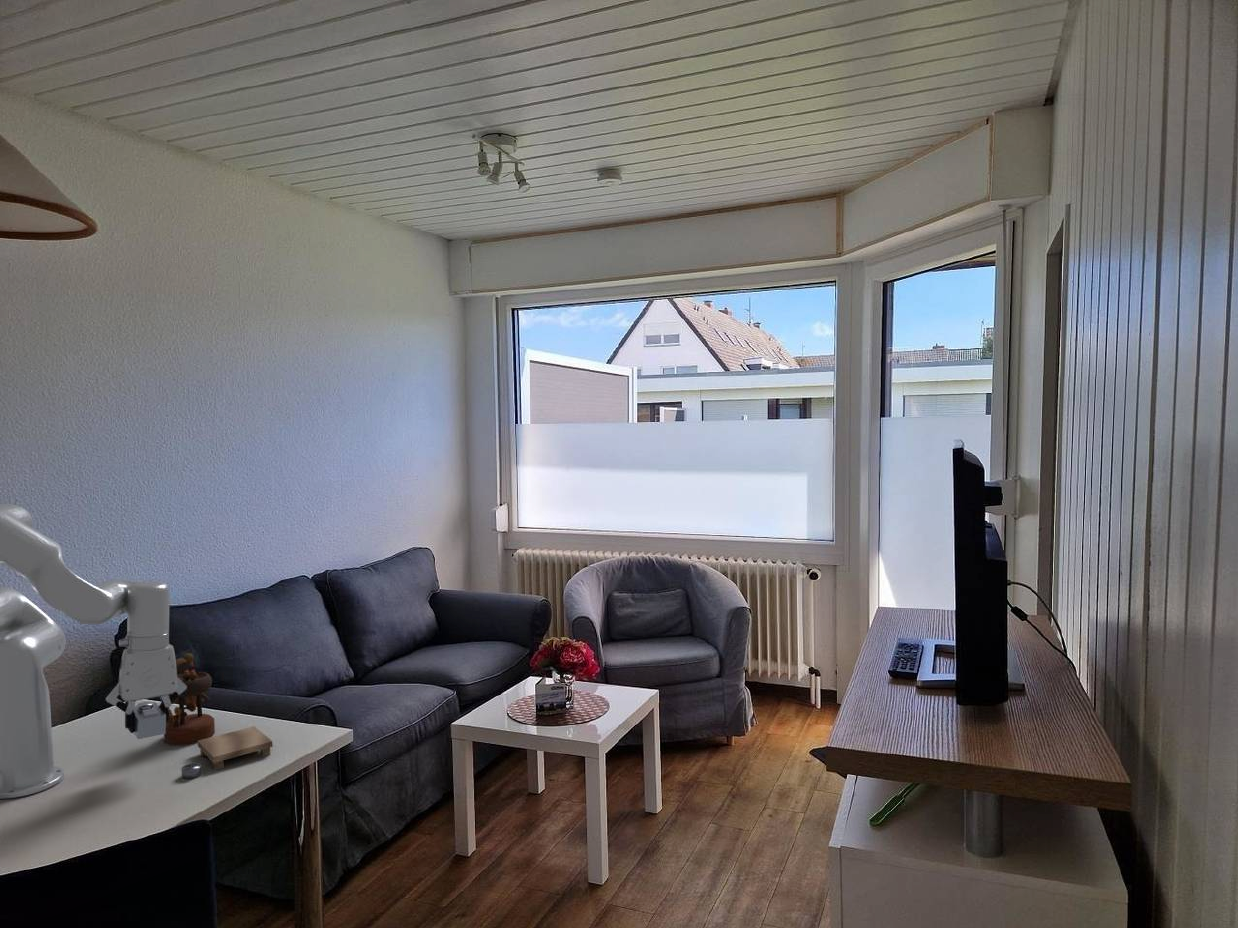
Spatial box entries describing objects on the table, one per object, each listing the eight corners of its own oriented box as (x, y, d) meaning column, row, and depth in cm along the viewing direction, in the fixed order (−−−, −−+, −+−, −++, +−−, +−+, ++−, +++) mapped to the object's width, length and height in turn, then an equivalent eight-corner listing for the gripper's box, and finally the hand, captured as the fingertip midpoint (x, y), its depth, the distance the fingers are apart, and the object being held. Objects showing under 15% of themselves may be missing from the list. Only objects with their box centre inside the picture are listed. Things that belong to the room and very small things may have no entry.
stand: (213, 771, 169) (213, 757, 169) (198, 753, 178) (197, 740, 178) (272, 754, 177) (272, 741, 177) (254, 738, 186) (254, 726, 186)
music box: (191, 749, 180) (179, 661, 179) (148, 750, 182) (137, 663, 182) (235, 723, 195) (225, 642, 194) (195, 724, 197) (185, 644, 196)
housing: (137, 739, 163) (138, 714, 163) (128, 725, 170) (129, 702, 170) (165, 733, 166) (165, 709, 166) (155, 720, 173) (155, 697, 173)
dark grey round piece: (184, 781, 164) (183, 772, 164) (179, 776, 167) (179, 766, 167) (203, 776, 167) (203, 766, 167) (198, 770, 169) (198, 761, 169)
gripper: (103, 652, 159) (102, 742, 160) (198, 639, 170) (196, 724, 171) (96, 643, 164) (95, 731, 165) (188, 632, 176) (187, 713, 176)
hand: (147, 726), depth 168 cm, fingers closed on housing, 5 cm apart
